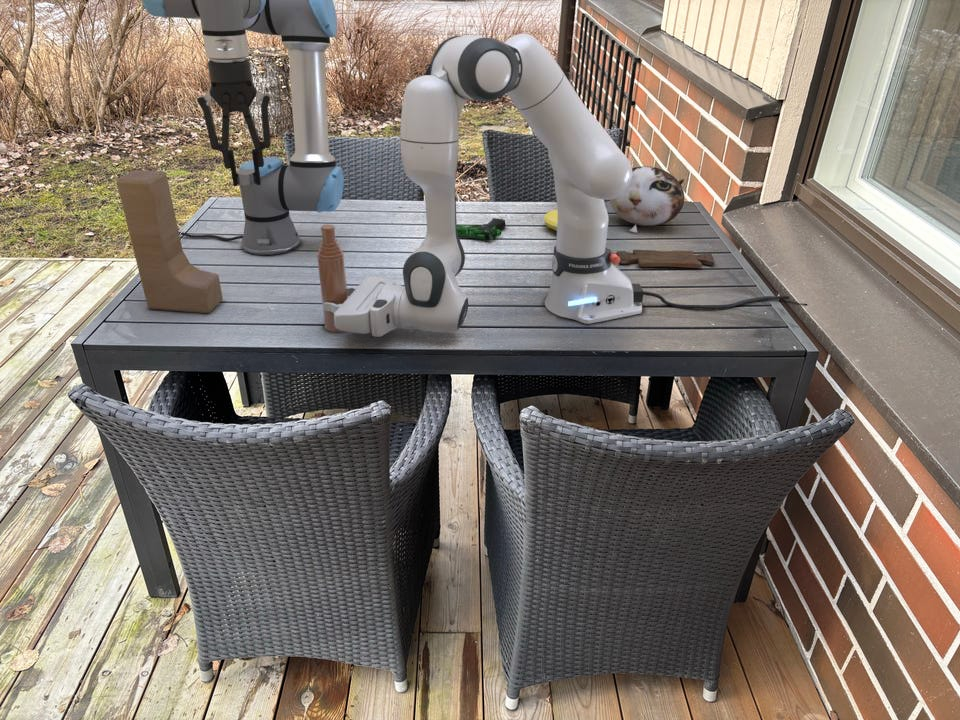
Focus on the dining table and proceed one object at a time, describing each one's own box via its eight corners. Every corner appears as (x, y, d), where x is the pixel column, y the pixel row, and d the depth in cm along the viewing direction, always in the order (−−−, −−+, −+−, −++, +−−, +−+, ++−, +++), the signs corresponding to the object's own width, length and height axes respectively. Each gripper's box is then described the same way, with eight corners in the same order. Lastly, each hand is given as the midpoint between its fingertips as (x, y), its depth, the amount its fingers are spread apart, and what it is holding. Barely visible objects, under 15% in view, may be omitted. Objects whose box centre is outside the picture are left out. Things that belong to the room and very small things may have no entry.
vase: (559, 216, 220) (561, 193, 217) (605, 227, 212) (608, 204, 209) (532, 230, 209) (533, 207, 206) (580, 242, 201) (582, 218, 198)
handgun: (511, 219, 210) (493, 234, 198) (511, 228, 211) (492, 244, 199) (461, 212, 215) (440, 226, 203) (461, 221, 217) (440, 236, 204)
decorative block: (209, 314, 161) (183, 183, 145) (146, 309, 162) (114, 179, 147) (224, 300, 167) (200, 172, 152) (163, 295, 169) (134, 168, 153)
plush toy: (590, 213, 207) (612, 150, 209) (606, 237, 223) (627, 178, 224) (664, 227, 196) (687, 160, 198) (675, 250, 212) (697, 189, 214)
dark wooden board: (718, 270, 186) (709, 256, 195) (719, 264, 186) (710, 250, 194) (619, 267, 187) (614, 252, 195) (620, 261, 186) (615, 247, 194)
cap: (232, 183, 144) (231, 172, 143) (248, 178, 147) (247, 167, 146) (245, 187, 142) (243, 175, 141) (261, 182, 145) (259, 171, 144)
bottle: (344, 318, 160) (335, 220, 149) (354, 328, 156) (345, 228, 145) (321, 324, 158) (310, 224, 146) (330, 334, 154) (319, 233, 142)
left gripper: (177, 63, 128) (201, 191, 140) (274, 61, 131) (290, 186, 143) (182, 57, 134) (205, 180, 146) (275, 55, 137) (289, 176, 149)
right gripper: (406, 272, 158) (348, 266, 161) (374, 313, 141) (309, 305, 144) (407, 298, 162) (350, 291, 164) (376, 341, 144) (312, 333, 147)
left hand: (247, 183), depth 144 cm, fingers closed on cap, 4 cm apart
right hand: (330, 298), depth 154 cm, fingers closed on bottle, 5 cm apart
